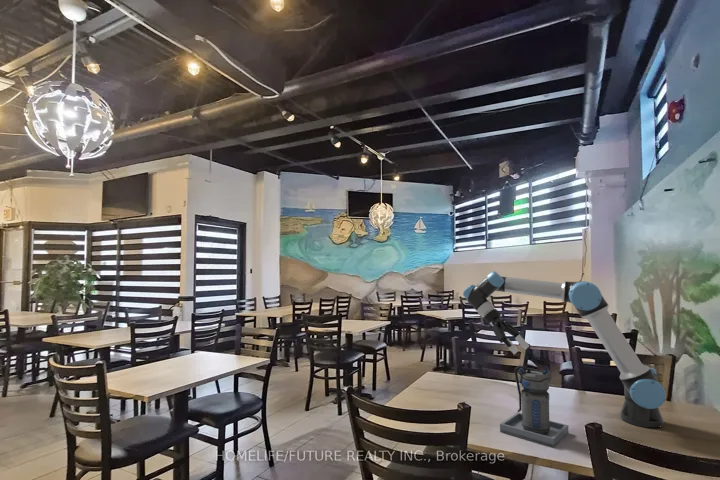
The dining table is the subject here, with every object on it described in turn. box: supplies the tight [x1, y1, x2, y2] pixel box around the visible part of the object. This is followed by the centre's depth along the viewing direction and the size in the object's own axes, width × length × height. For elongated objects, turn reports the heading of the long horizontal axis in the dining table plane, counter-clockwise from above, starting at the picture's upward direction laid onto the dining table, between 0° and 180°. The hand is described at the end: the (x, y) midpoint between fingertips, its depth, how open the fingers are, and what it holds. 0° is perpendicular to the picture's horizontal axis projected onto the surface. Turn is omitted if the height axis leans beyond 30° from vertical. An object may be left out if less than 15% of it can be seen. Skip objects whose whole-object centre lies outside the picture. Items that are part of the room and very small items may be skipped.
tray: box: [499, 412, 569, 449], centre depth 158 cm, size 20×18×3 cm
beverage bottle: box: [514, 365, 552, 434], centre depth 159 cm, size 10×13×25 cm
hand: (522, 350), depth 178 cm, fingers open, 13 cm apart
